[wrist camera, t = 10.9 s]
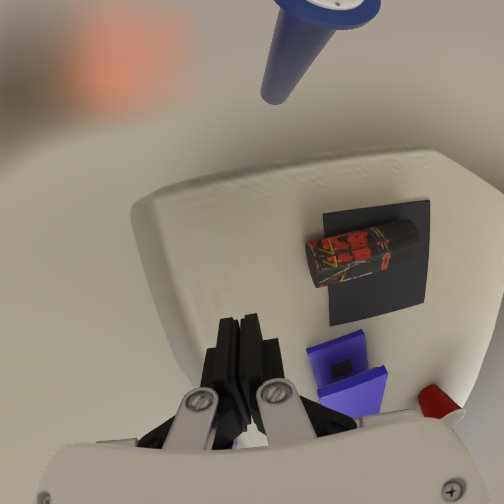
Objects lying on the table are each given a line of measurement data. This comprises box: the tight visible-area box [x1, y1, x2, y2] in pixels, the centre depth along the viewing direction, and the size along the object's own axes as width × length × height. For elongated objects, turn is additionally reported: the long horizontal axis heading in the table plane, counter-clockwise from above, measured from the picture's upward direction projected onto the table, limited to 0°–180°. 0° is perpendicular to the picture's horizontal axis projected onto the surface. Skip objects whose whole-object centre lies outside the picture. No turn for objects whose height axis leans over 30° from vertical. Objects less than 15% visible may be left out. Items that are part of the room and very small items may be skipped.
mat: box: [323, 200, 430, 326], centre depth 39 cm, size 18×18×1 cm
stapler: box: [306, 329, 388, 419], centre depth 43 cm, size 12×28×10 cm, turn 19°
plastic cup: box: [418, 384, 465, 428], centre depth 45 cm, size 11×11×12 cm
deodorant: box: [306, 219, 421, 288], centre depth 35 cm, size 6×6×15 cm
